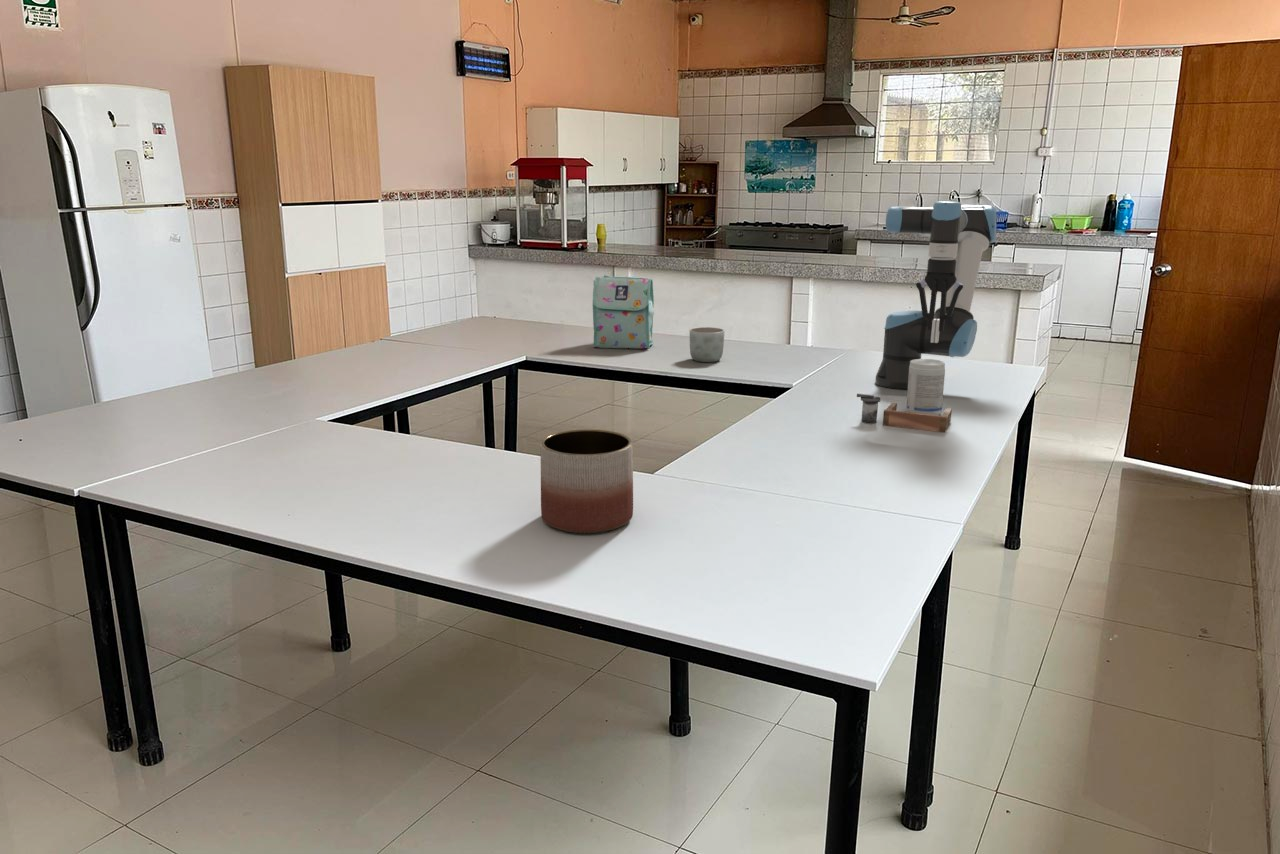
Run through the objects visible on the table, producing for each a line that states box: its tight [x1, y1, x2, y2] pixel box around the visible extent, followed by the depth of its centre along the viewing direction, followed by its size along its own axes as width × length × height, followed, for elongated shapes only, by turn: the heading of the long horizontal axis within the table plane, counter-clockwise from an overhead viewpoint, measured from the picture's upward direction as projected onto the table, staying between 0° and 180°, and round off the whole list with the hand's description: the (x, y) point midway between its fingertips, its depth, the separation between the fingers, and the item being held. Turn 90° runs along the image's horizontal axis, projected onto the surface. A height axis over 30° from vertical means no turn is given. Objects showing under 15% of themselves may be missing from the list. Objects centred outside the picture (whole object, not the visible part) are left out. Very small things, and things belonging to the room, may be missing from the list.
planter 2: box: [689, 326, 725, 363], centre depth 325 cm, size 12×12×11 cm
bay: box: [882, 402, 952, 433], centre depth 246 cm, size 12×16×4 cm
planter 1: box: [539, 428, 634, 535], centre depth 175 cm, size 18×18×16 cm
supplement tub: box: [905, 358, 946, 415], centre depth 255 cm, size 10×10×15 cm
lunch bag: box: [592, 274, 655, 350], centre depth 348 cm, size 23×16×27 cm
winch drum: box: [856, 393, 882, 425], centre depth 247 cm, size 5×6×7 cm
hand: (934, 341), depth 261 cm, fingers closed
